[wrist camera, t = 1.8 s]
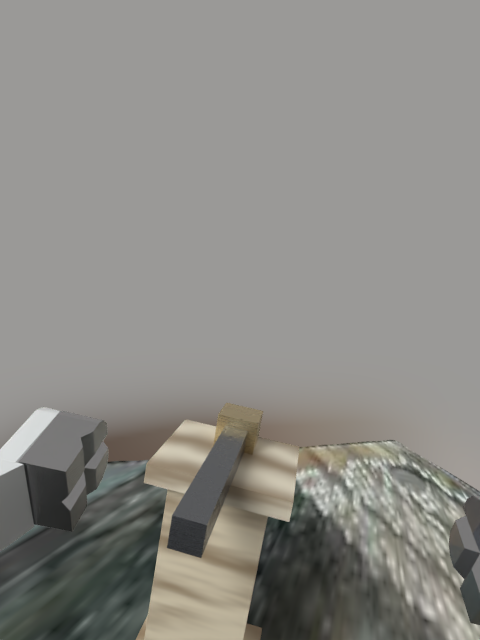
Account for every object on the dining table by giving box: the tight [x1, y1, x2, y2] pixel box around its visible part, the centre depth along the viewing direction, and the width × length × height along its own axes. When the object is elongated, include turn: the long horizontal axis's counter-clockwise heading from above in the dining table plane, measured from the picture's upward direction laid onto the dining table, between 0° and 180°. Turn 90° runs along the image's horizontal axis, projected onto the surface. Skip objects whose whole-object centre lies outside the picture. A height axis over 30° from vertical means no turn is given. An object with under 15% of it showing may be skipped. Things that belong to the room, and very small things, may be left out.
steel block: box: [167, 403, 263, 558], centre depth 40 cm, size 22×4×4 cm, turn 170°
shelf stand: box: [136, 420, 299, 640], centre depth 47 cm, size 12×14×26 cm
